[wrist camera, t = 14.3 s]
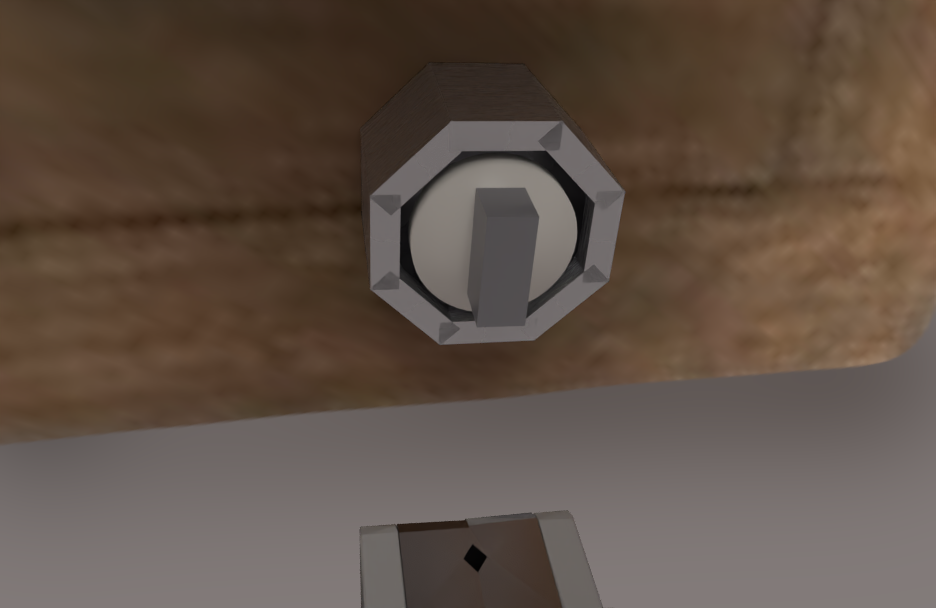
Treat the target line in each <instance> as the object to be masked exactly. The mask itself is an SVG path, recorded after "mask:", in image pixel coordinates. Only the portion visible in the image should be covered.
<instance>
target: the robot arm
mask: <svg viewBox="0 0 936 608" xmlns="http://www.w3.org/2000/svg"><path fill="white" fill-rule="evenodd" d="M360 574H361V577H360V578H361V608H603V606H602V603H601V600H600V597H599V594H598V591H597V588H596V585H595V582H594V579H593V576H592V573H591V570H590V567H589V564H588V561H587V558H586V555H585V552H584V549H583V546H582V543H581V540H580V537H579V534H578V531H577V528H576V524H575V522H574V519H573V516H572V515H571V514H570V513H569V511H554V512H543V513H534V514H532V513H522V514H513V515H501V516H491V517H481V518H470V519H465V520H463V521H444V522H427V523H409V524H397V526H396V525H395V524H394V525H379V526H366V527H360Z"/></svg>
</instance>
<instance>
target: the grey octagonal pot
mask: <svg viewBox="0 0 936 608" xmlns="http://www.w3.org/2000/svg"><path fill="white" fill-rule="evenodd" d="M360 132H361V195H362V211H361V216H362V225H363V233H364V242H365V251H366V260H367V269H368V278H369V287H370V290H372V291H373V292H374V293H376V294H377V295H378V296H379V297H381V298H382V299H383V300H384V301H386V302H387V303H388V304H389V305H391V306H392V307H393V308H394V309H396V310H397V311H398V312H399V313H401V314H402V315H403V316H404V317H406V318H407V319H408V320H409V321H411V322H412V323H413V324H414V325H416V326H417V327H418V328H419V329H421V330H422V331H423V332H424V333H426V334H427V335H428V336H429V337H431V338H432V339H433V340H434V341H436V342H437V343H438V344H439V345H444V344H466V343H488V342H509V341H531V340H533V341H534V340H535V339H536V338H538V337H539V336H540V335H541V334H543V333H544V332H545V331H546V330H548V329H549V328H550V327H551V326H553V325H554V324H555V323H557V322H558V321H559V320H560V319H562V318H563V317H564V316H565V315H567V314H568V313H569V312H570V311H572V310H573V309H574V308H575V307H577V306H578V305H579V304H581V303H582V302H583V301H584V300H586V299H587V298H588V297H589V296H591V295H592V294H593V293H594V292H596V291H597V290H598V289H599V288H601V287H602V286H603V285H604V284H606V283H607V282H609V281H610V280H609V277H610V271H611V266H612V260H613V255H614V249H615V244H616V238H617V233H618V227H619V222H620V216H621V211H622V205H623V200H624V194H625V190H624V189H623V187H622V186H621V185H620V183H619V182H618V180H617V179H616V178H615V176H614V175H613V173H612V172H611V171H610V169H609V168H608V166H607V165H606V164H605V162H604V161H603V159H602V158H601V156H600V155H599V154H598V152H597V151H596V149H595V148H594V147H593V145H592V144H591V142H590V141H589V140H588V138H587V137H586V135H585V134H584V133H583V131H582V130H581V128H580V127H578V126H577V125H576V123H575V122H574V121H573V120H572V119H571V118H570V117H569V115H568V114H567V113H566V112H565V111H564V110H563V109H562V107H561V106H560V105H559V104H558V103H557V102H556V101H555V99H554V98H553V97H552V96H551V95H550V94H549V93H548V91H547V90H546V89H545V88H544V87H543V86H542V85H541V83H540V82H539V81H538V80H537V79H536V78H535V77H534V75H533V74H532V73H531V72H530V71H529V70H528V68H527V67H526V65H525V64H523V63H522V64H488V63H430V62H429V63H428V64H427V65H426V66H425V67H424V68H423V69H422V70H421V71H420V72H419V73H418V74H417V75H416V76H415V77H414V78H413V79H412V80H411V81H409V82H408V83H407V84H406V85H405V86H404V87H403V88H402V89H401V90H400V91H399V92H398V93H397V94H396V95H395V96H394V97H393V98H392V99H391V100H390V101H389V102H388V103H386V104H385V105H384V106H383V107H382V108H381V109H380V110H379V111H378V112H377V113H376V114H375V115H374V116H373V117H372V118H371V119H370V120H369V121H368V122H367V123H366V124H365V125H363V126H362V127H361V128H360ZM496 152H499V153H510V154H515V155H520V156H523V157H526V158H529V159H531V160H533V161H535V162H537V163H539V164H540V165H542V166H543V167H544V168H546V169H547V170H548V171H549V172H550V173H551V174H552V175H553V176H554V177H555V178H556V179H557V181H558V182H559V183H560V185H561V187H562V188H563V190H564V192H565V194H566V195H567V197H568V199H569V201H570V202H571V204H572V207H573V210H574V212H575V216H576V221H577V240H576V245H575V249H574V253H573V255H572V258H571V260H570V262H569V264H568V266H567V268H566V269H565V271H564V272H563V274H562V275H561V276H560V278H559V279H558V280H557V281H556V282H555V283H554V284H553V285H552V286H551V287H550V288H549V289H548V290H547V291H545V292H544V293H543V294H541V295H540V296H538V297H537V298H535V299H533V300H532V301H530V302H528V307H527V314H526V322H525V326H505V327H477V326H476V323H475V319H474V316H473V312H472V311H467V310H463V309H459V308H456V307H454V306H451V305H449V304H447V303H445V302H443V301H442V300H440V299H439V298H437V297H436V296H435V295H433V294H432V293H431V292H430V291H429V290H428V289H427V288H426V286H425V285H424V284H423V282H422V281H421V280H420V278H419V276H418V274H417V272H416V270H415V267H414V264H413V260H412V255H411V250H410V245H409V238H408V227H409V219H410V216H411V212H412V209H413V207H414V204H415V202H416V200H417V198H418V196H419V195H420V193H421V192H422V190H423V189H424V188H425V186H426V185H427V184H428V183H429V182H430V181H431V180H432V179H433V178H434V177H435V176H436V175H437V174H438V173H440V172H441V171H442V170H444V169H445V168H447V167H448V166H450V165H452V164H453V163H455V162H458V161H460V160H462V159H464V158H468V157H471V156H474V155H479V154H484V153H496Z"/></svg>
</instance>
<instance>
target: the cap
mask: <svg viewBox="0 0 936 608" xmlns="http://www.w3.org/2000/svg"><path fill="white" fill-rule="evenodd" d="M408 238H409V245H410V250H411V255H412V260H413V264H414V267H415V270H416V272H417V274H418V276H419V278H420V280H421V281H422V282H423V284H424V285H425V286H426V288H427V289H428V290H429V291H430V292H431V293H432V294H433V295H435V296H436V297H437V298H439V299H440V300H442V301H443V302H445V303H447V304H449V305H451V306H454V307H456V308H459V309H463V310H467V311H472V312H473V316H474V319H475V323H476V326H477V327H505V326H525V322H526V314H527V307H528V302H530V301H532V300H533V299H535V298H537V297H538V296H540V295H541V294H543V293H544V292H545V291H547V290H548V289H549V288H550V287H551V286H552V285H553V284H554V283H555V282H556V281H557V280H558V279H559V278H560V276H561V275H562V274H563V272H564V271H565V269H566V268H567V266H568V264H569V262H570V260H571V258H572V255H573V253H574V249H575V245H576V240H577V221H576V216H575V212H574V210H573V207H572V204H571V202H570V201H569V199H568V197H567V195H566V194H565V192H564V190H563V188H562V187H561V185H560V183H559V182H558V181H557V179H556V178H555V177H554V176H553V175H552V174H551V173H550V172H549V171H548V170H547V169H546V168H544V167H543V166H542V165H540V164H539V163H537V162H535V161H533V160H531V159H529V158H526V157H523V156H520V155H515V154H510V153H499V152H496V153H484V154H479V155H474V156H471V157H468V158H464V159H462V160H460V161H458V162H455V163H453V164H452V165H450V166H448V167H447V168H445V169H444V170H442V171H441V172H440V173H438V174H437V175H436V176H435V177H434V178H433V179H432V180H431V181H430V182H429V183H428V184H427V185H426V186H425V188H424V189H423V190H422V192H421V193H420V195H419V196H418V198H417V200H416V202H415V204H414V207H413V209H412V212H411V216H410V219H409V227H408Z"/></svg>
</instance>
